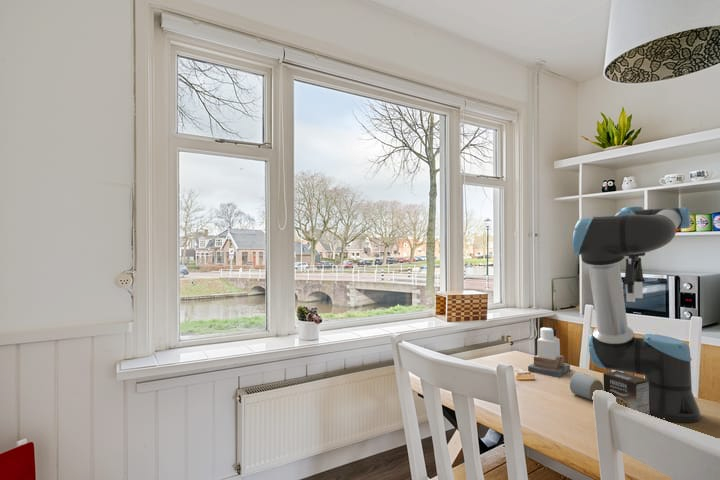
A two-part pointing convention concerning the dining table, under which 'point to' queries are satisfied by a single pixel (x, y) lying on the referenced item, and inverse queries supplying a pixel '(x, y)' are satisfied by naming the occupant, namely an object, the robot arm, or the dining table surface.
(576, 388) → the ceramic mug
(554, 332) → the medicine bottle
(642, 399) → the coffee box
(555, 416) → the dining table surface
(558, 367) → the pedestal stand
